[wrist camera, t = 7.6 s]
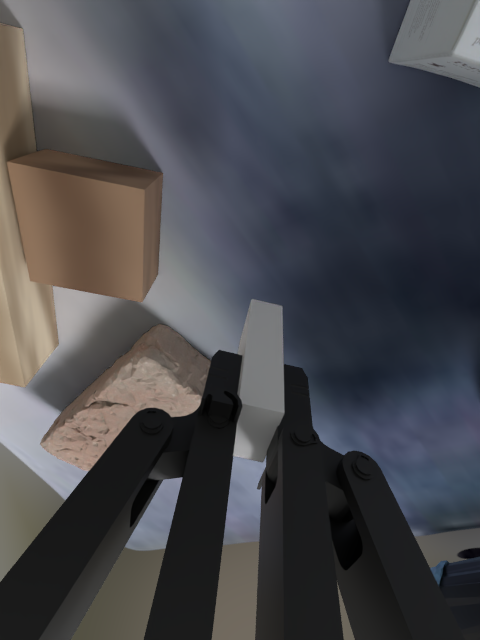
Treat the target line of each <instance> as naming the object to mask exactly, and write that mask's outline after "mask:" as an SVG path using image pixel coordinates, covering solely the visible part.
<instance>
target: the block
mask: <svg viewBox="0 0 480 640" xmlns="http://www.w3.org/2000/svg"><path fill="white" fill-rule="evenodd" d="M7 165H8V171H9V176H10V181H11V186H12V191H13V196H14V201H15V206H16V212H17V217H18V222H19V227H20V232H21V237H22V242H23V248H24V253H25V258H26V263H27V268H28V273H29V278H30V281H32V282H37V283H42V284H48V285H53V286H58V287H63V288H69V289H74V290H79V291H85V292H90V293H95V294H101V295H106V296H111V297H116V298H122V299H127V300H132V301H138V302H143V300H144V298H145V297H146V295H147V293H148V291H149V290H150V288H151V286H152V284H153V282H154V281H155V279H156V277H157V275H158V264H159V244H160V223H161V203H162V182H163V173H161V172H156V171H151V170H146V169H141V168H137V167H132V166H127V165H122V164H117V163H112V162H107V161H103V160H98V159H93V158H88V157H83V156H78V155H73V154H69V153H64V152H59V151H54V150H49V149H44V150H41V151H37V152H34V153H31V154H28V155H25V156H22V157H19V158H16V159H13V160H10V161H7Z"/></svg>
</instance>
